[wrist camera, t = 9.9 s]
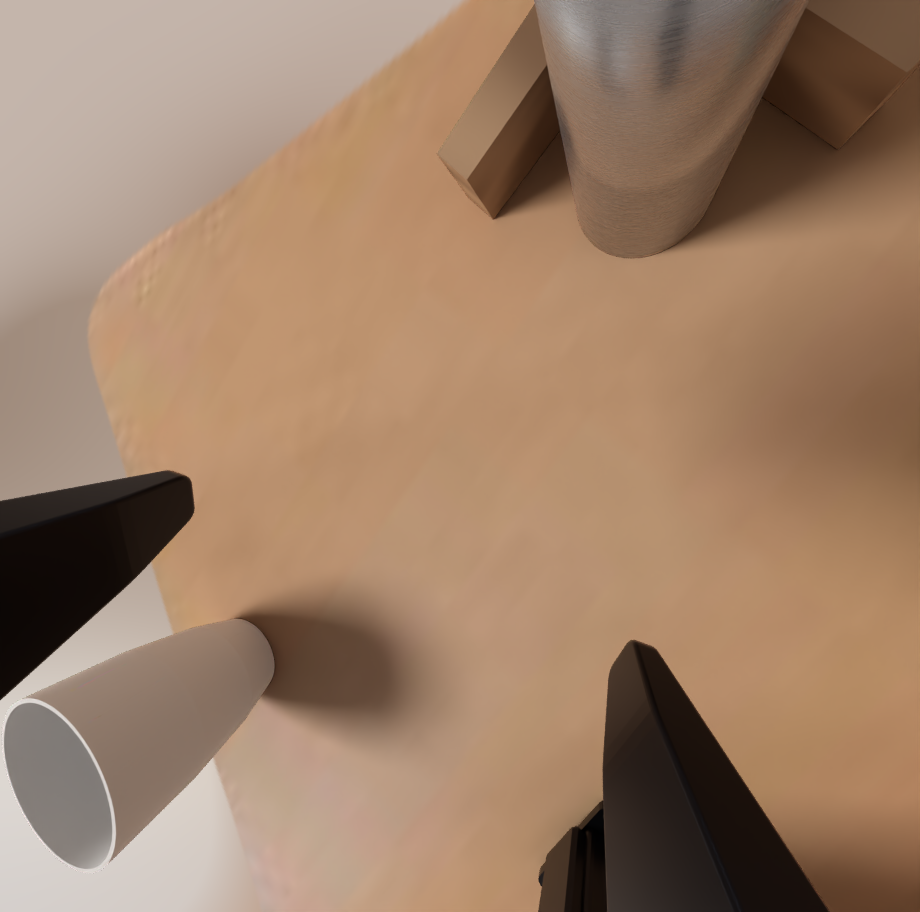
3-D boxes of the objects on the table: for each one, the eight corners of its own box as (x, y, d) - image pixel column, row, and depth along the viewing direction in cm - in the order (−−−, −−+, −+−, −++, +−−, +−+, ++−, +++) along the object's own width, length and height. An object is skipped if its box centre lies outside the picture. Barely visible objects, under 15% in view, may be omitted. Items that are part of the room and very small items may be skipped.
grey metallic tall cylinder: (740, 209, 15) (1595, -1088, 2) (605, 282, 17) (577, -121, 4) (683, 86, 15) (1122, -1904, 2) (556, 173, 17) (363, -582, 4)
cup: (184, 638, 29) (-16, 749, 20) (237, 571, 26) (33, 665, 17) (252, 732, 28) (72, 898, 19) (315, 672, 25) (141, 831, 16)
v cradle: (881, 140, 13) (967, 58, 10) (469, 224, 18) (437, 186, 15) (903, -126, 12) (1005, -312, 9) (463, 38, 17) (428, -45, 14)
